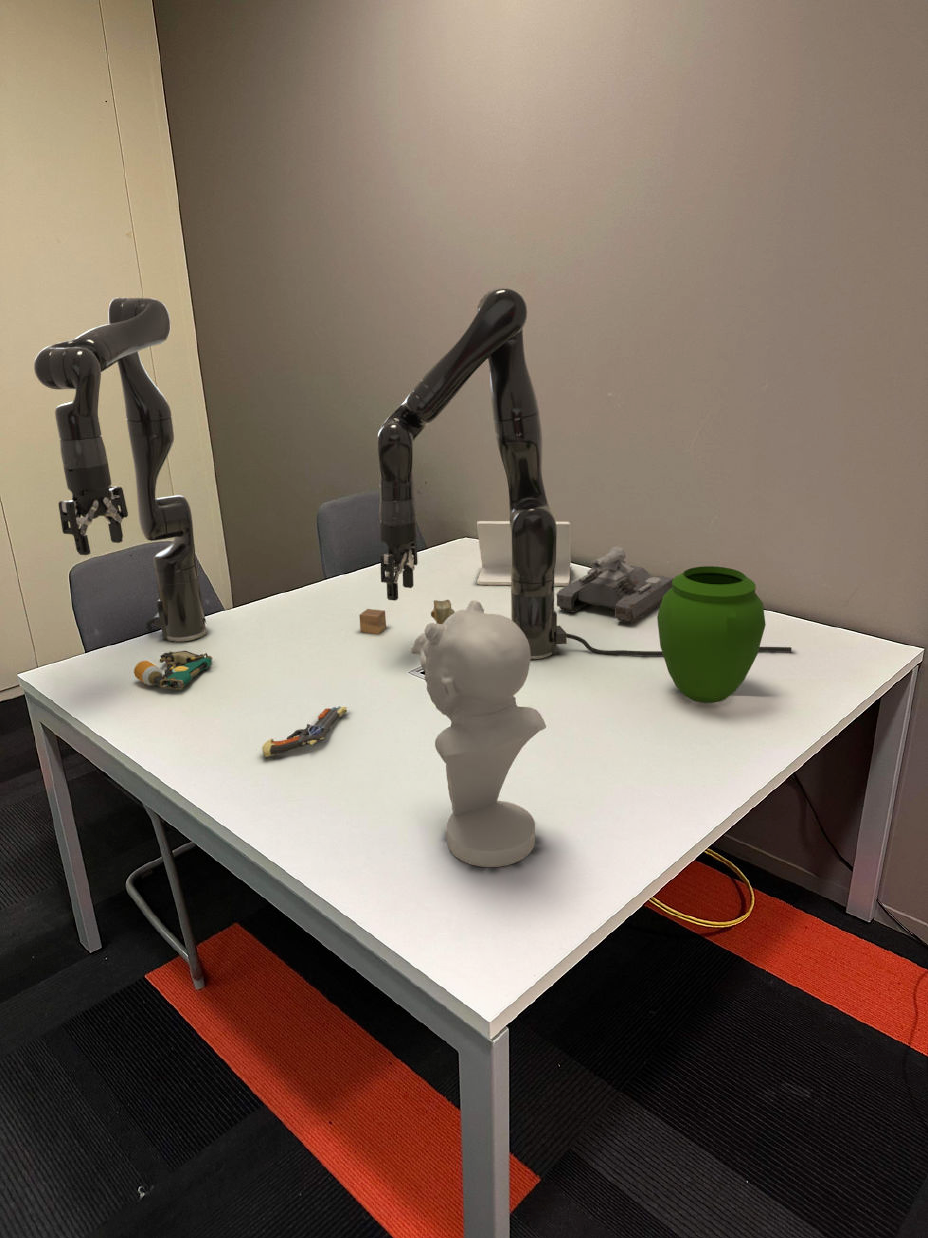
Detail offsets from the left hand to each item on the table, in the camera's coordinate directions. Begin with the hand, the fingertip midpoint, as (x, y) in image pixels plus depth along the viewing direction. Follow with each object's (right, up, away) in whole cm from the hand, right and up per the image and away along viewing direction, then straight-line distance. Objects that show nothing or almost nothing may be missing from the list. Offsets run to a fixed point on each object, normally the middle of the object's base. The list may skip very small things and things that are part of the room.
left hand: (101, 548), depth 161 cm
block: (+47, -16, +42) cm, 65 cm away
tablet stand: (+86, -1, +78) cm, 116 cm away
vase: (+115, -28, +4) cm, 119 cm away
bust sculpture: (+69, -45, -36) cm, 90 cm away
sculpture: (+65, -24, +19) cm, 71 cm away
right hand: (+55, -8, +21) cm, 59 cm away
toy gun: (+40, -35, -7) cm, 53 cm away
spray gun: (+8, -26, +20) cm, 33 cm away
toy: (+107, -10, +53) cm, 120 cm away
